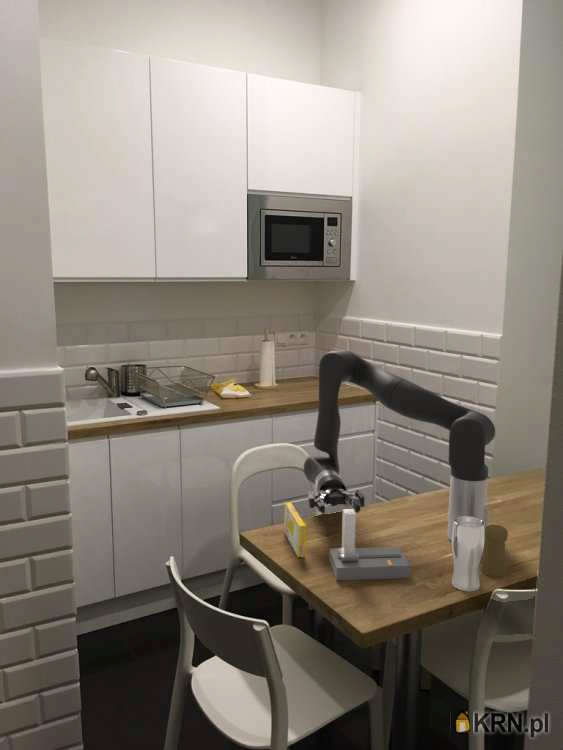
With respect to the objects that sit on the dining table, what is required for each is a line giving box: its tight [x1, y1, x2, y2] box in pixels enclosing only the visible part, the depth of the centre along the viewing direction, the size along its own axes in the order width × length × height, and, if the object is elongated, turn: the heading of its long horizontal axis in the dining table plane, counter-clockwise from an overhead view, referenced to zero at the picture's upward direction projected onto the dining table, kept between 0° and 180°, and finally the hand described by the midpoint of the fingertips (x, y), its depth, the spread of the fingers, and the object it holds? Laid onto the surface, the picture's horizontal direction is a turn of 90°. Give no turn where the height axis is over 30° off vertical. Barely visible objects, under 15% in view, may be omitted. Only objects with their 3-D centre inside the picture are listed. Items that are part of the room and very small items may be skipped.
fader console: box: [328, 546, 412, 581], centre depth 150 cm, size 17×10×3 cm, turn 95°
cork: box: [479, 524, 509, 578], centre depth 148 cm, size 6×6×11 cm
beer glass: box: [451, 516, 486, 593], centre depth 141 cm, size 7×7×15 cm
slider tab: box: [337, 508, 359, 562], centre depth 148 cm, size 4×5×11 cm
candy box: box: [283, 502, 307, 558], centre depth 163 cm, size 16×2×8 cm, turn 12°
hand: (340, 509), depth 158 cm, fingers open, 8 cm apart
